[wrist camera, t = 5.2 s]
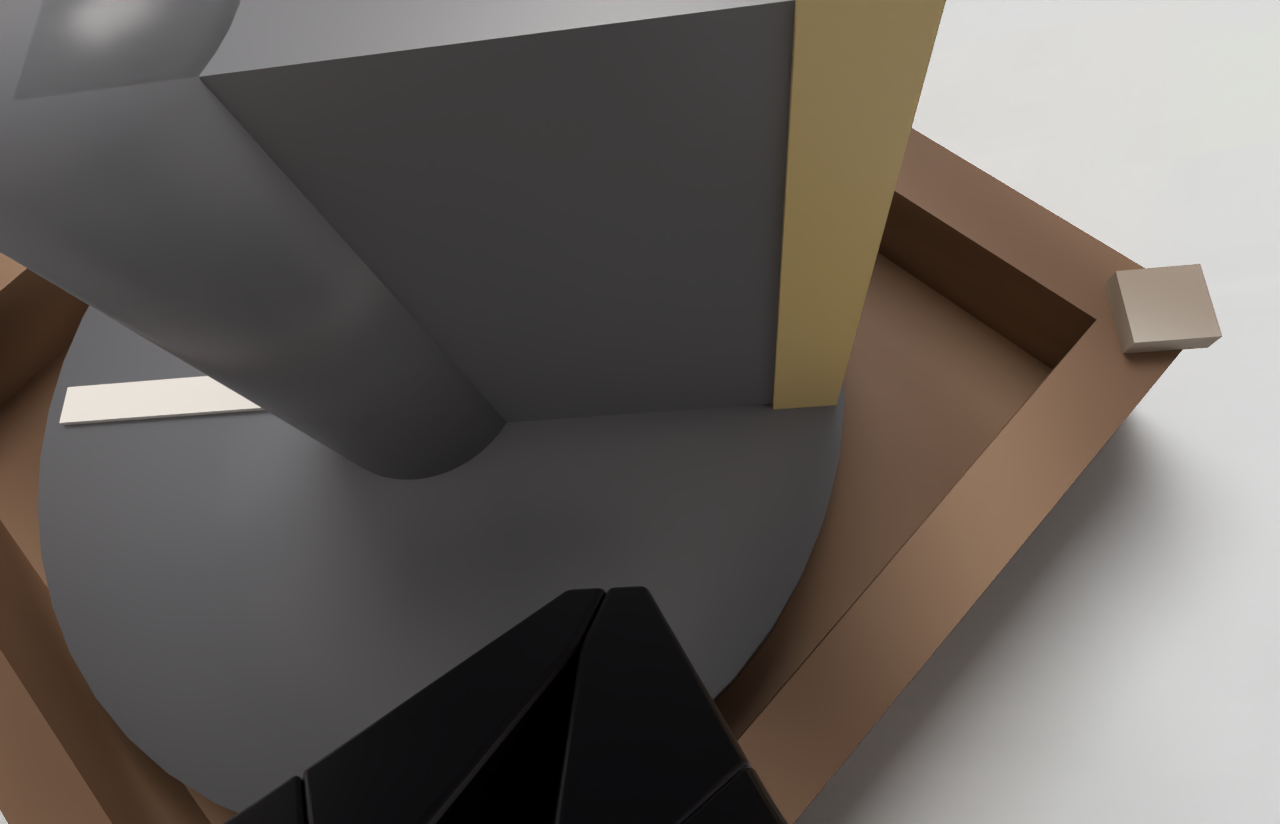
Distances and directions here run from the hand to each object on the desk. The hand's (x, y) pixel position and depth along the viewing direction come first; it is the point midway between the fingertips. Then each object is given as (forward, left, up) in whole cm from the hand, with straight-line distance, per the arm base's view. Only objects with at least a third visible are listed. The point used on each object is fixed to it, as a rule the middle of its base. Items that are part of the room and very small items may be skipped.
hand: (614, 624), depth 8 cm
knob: (0, +6, -5) cm, 8 cm away
